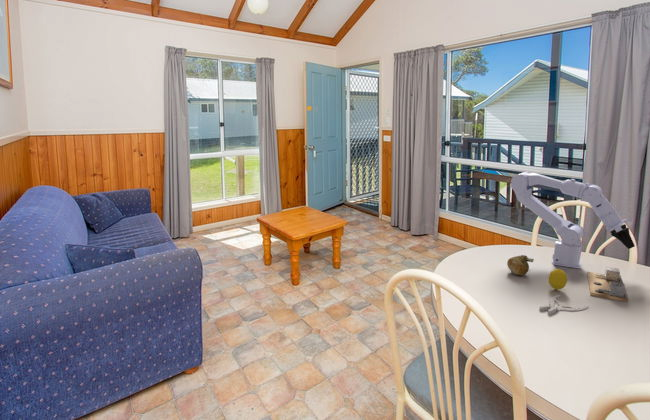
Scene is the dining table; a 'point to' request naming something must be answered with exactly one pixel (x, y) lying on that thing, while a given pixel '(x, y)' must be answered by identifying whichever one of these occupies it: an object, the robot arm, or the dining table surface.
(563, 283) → the lemon
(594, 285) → the gauge board
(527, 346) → the dining table surface
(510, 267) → the onion
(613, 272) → the sliding leg
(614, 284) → the fixed leg
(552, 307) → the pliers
